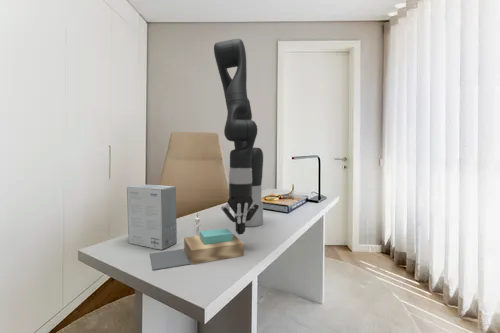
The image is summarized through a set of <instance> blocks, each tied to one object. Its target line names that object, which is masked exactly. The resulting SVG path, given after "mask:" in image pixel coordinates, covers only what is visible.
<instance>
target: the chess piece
mask: <svg viewBox="0 0 500 333" xmlns="http://www.w3.org/2000/svg"><path fill="white" fill-rule="evenodd" d="M194 216H195V217H194V222H195V224H194V227H195V232H194V233H195V235H194V236H200V226H201V224H200V221H201V214H199V212H196V214H194Z"/></svg>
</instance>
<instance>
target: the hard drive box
mask: <svg viewBox="0 0 500 333" xmlns="http://www.w3.org/2000/svg"><path fill="white" fill-rule="evenodd" d="M126 196H127V197H126V199H127V206H126V207H127V226H128V227H127V230H128V231H127V232H128V233H127V235H128V244H131V245H136V246H140V247H141V246H142V247H144V248H145V247H147V248H151V249H155V250H160V251H161V250H164V249H167V248H168V247H169V248H170V247H171V246H173V245H175V244H177V242H178V240H177V239H178V238H177V237H178V236H177V235H178V232H177V231H178V229H177V226H178V225H177V224H178V223H177V186H173V185H159V184H158V185H157V184H145V183H144V184H143V183H142V184H137V185H130V186H127V187H126Z"/></svg>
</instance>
